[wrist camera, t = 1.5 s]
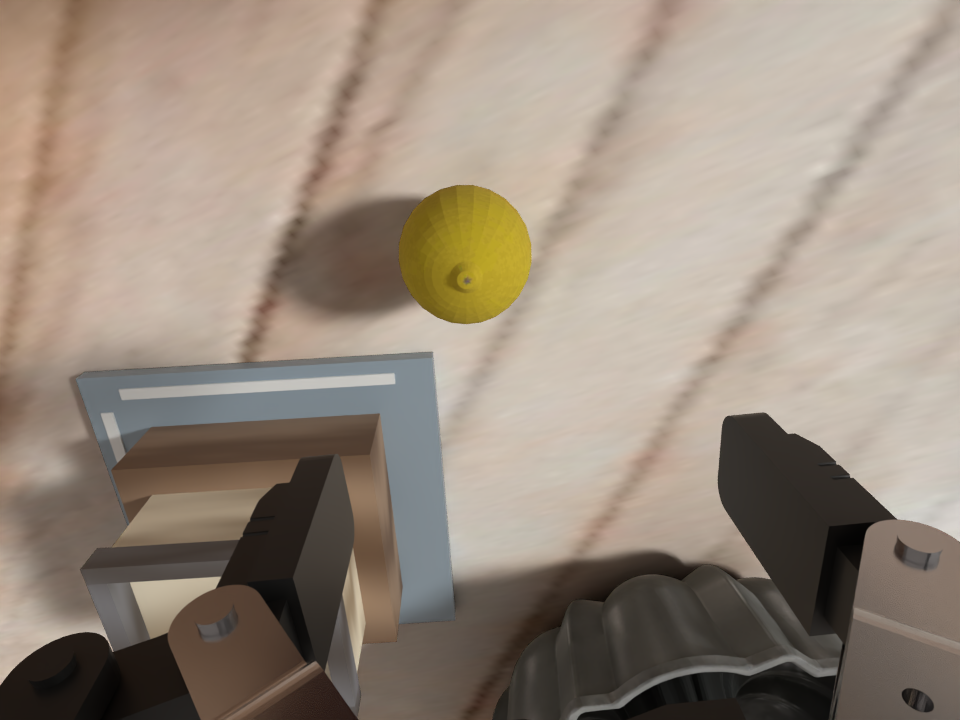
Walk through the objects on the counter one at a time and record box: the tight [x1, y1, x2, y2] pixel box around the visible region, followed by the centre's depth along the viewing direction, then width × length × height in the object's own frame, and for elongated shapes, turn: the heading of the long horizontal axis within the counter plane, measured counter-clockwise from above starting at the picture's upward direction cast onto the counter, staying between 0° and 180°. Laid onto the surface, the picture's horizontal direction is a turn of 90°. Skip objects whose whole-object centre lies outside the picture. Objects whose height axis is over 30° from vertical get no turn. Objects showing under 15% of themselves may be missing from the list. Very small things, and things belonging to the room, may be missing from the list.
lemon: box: [399, 185, 531, 324], centre depth 25 cm, size 6×6×8 cm
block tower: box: [80, 413, 403, 717], centre depth 30 cm, size 12×12×9 cm
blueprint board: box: [76, 352, 455, 624], centre depth 34 cm, size 18×18×1 cm
